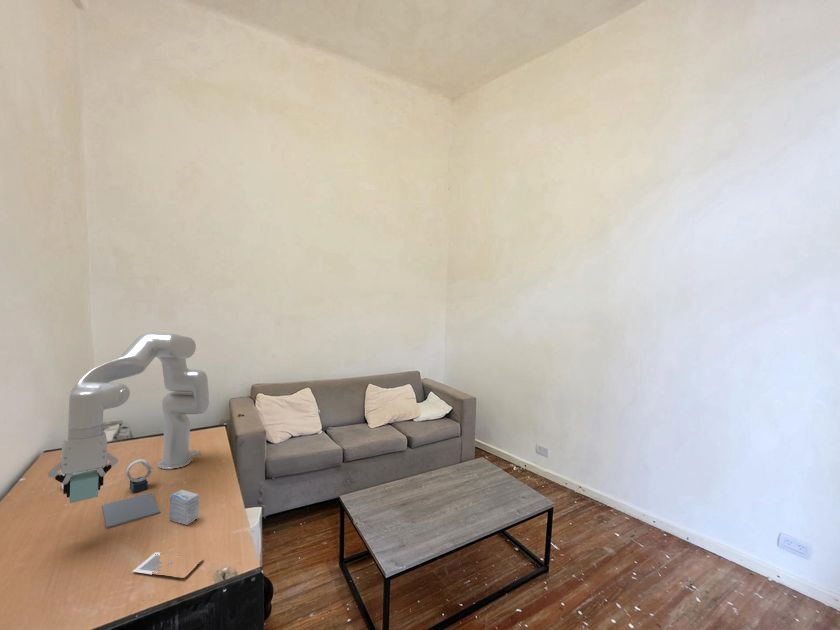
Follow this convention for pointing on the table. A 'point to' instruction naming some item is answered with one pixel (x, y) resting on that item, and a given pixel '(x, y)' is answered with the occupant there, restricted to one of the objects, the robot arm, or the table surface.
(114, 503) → the mat
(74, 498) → the cube
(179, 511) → the medicine box
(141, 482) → the watch
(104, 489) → the table surface
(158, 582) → the table surface
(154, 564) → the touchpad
